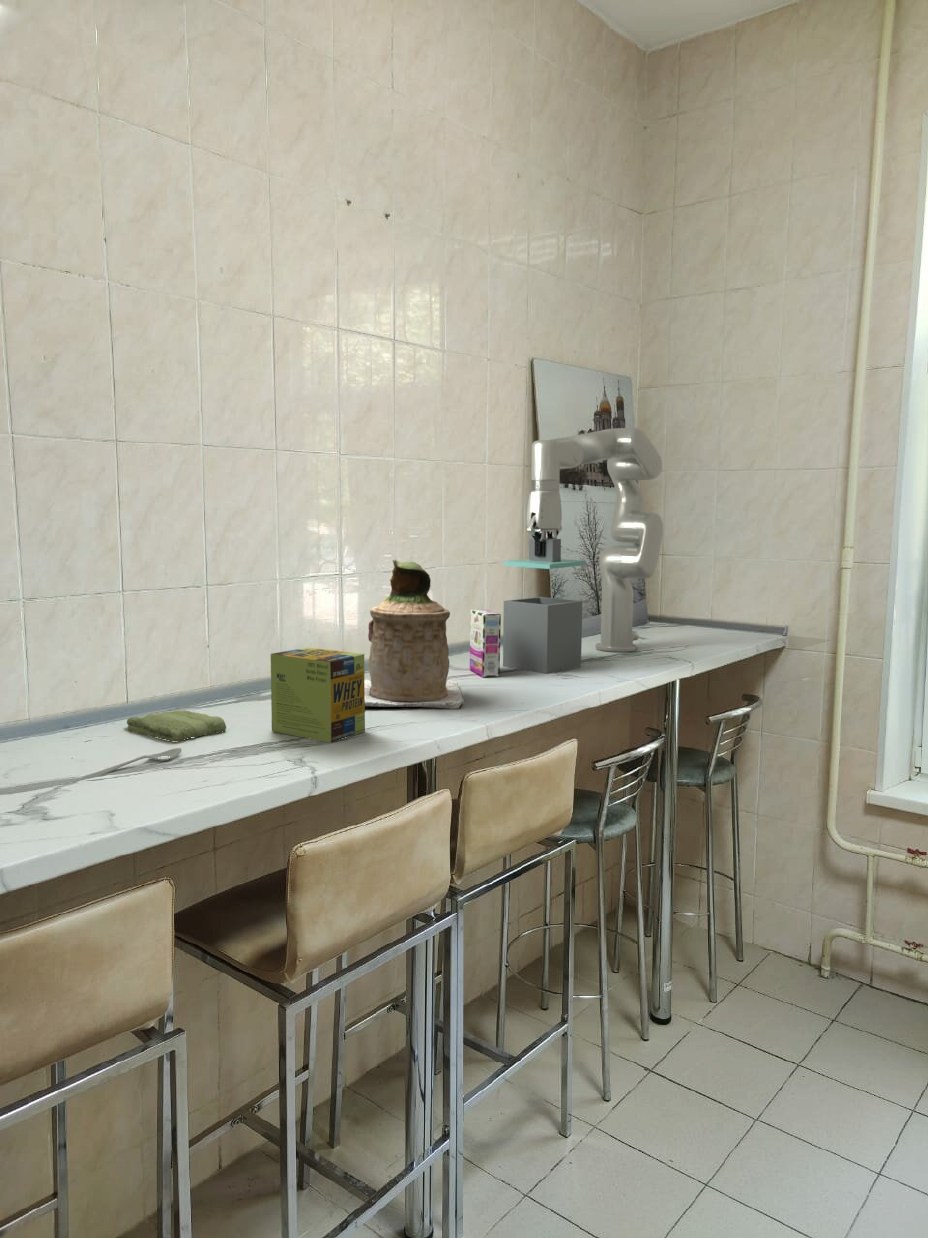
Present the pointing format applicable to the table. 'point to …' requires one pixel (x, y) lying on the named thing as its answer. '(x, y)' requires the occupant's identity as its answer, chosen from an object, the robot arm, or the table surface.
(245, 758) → the table surface
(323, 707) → the protein box
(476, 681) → the table surface
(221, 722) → the washcloth
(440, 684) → the cookie jar
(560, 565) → the lid
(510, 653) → the bin
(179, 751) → the spoon
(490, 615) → the candy bar box
